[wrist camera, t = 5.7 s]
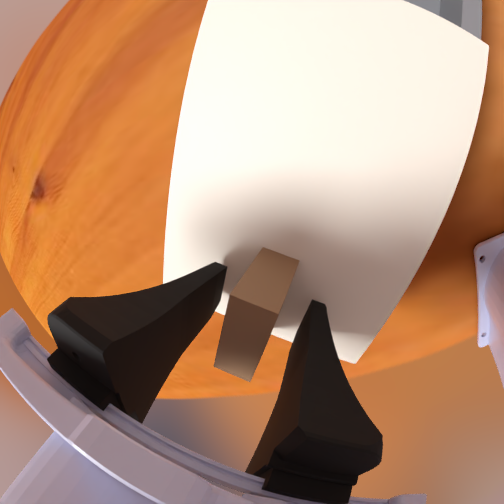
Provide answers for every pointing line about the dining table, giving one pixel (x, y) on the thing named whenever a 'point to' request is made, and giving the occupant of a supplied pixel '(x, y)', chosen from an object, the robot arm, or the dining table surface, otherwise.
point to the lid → (317, 161)
